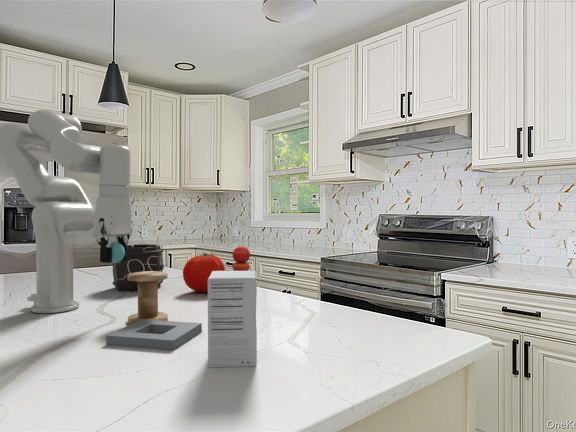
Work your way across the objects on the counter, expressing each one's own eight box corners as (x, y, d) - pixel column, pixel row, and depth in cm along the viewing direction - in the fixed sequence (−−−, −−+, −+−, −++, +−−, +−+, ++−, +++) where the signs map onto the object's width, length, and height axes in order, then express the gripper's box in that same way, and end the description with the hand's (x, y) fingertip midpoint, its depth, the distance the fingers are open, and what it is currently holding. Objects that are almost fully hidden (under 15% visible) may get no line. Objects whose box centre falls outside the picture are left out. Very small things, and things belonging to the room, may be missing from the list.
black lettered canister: (155, 292, 152) (155, 248, 152) (104, 292, 152) (104, 248, 152) (170, 283, 170) (169, 244, 170) (124, 283, 170) (124, 244, 170)
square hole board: (106, 344, 94) (106, 335, 94) (142, 327, 107) (142, 319, 107) (173, 350, 90) (173, 340, 90) (201, 331, 104) (201, 323, 104)
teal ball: (97, 263, 113) (98, 242, 112) (111, 260, 118) (111, 240, 118) (116, 264, 111) (116, 243, 111) (129, 262, 117) (129, 241, 116)
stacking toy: (249, 314, 120) (249, 247, 120) (222, 313, 122) (222, 247, 121) (257, 308, 128) (257, 245, 127) (231, 307, 129) (231, 244, 129)
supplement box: (211, 351, 89) (211, 270, 89) (256, 350, 90) (256, 269, 90) (207, 368, 80) (206, 277, 80) (257, 366, 81) (256, 277, 80)
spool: (119, 324, 110) (119, 276, 110) (141, 315, 120) (141, 270, 120) (155, 327, 108) (154, 277, 108) (174, 317, 117) (174, 271, 117)
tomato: (217, 287, 163) (217, 250, 163) (232, 293, 151) (232, 254, 151) (176, 291, 155) (176, 253, 155) (188, 297, 143) (188, 256, 143)
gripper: (122, 193, 123) (121, 256, 124) (79, 191, 107) (78, 264, 107) (145, 193, 121) (144, 257, 122) (105, 192, 105) (104, 266, 105)
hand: (113, 260), depth 115 cm, fingers closed on teal ball, 5 cm apart
